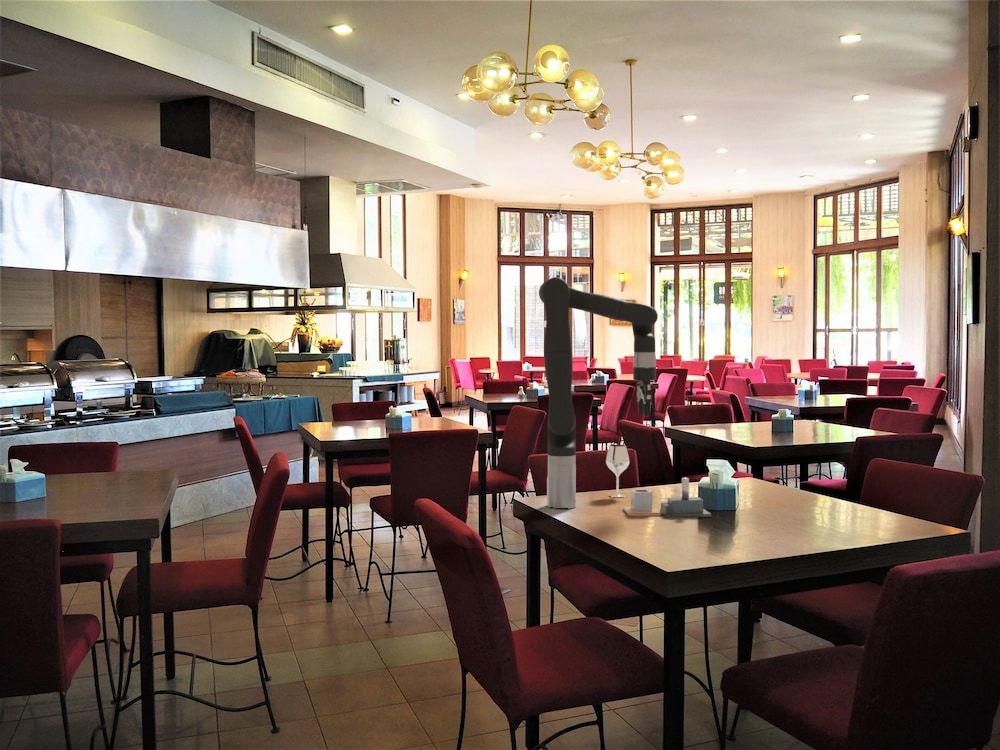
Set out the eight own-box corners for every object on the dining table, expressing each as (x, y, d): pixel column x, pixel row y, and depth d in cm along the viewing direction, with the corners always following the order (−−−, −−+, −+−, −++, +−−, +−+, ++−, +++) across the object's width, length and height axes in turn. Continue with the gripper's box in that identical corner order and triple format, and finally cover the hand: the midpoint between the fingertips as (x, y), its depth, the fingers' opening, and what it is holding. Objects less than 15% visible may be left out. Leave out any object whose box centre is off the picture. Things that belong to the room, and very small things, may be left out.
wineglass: (630, 498, 296) (630, 446, 295) (607, 498, 296) (607, 446, 296) (627, 494, 304) (627, 444, 304) (604, 494, 304) (604, 444, 304)
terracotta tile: (628, 516, 265) (629, 512, 265) (622, 509, 275) (622, 506, 275) (660, 515, 266) (660, 512, 266) (653, 509, 276) (653, 506, 276)
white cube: (634, 511, 267) (634, 492, 267) (630, 508, 273) (631, 489, 273) (652, 511, 268) (652, 492, 268) (648, 507, 273) (648, 489, 273)
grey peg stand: (666, 517, 263) (666, 480, 262) (660, 512, 271) (660, 476, 270) (711, 516, 263) (711, 479, 263) (703, 511, 271) (703, 476, 271)
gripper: (629, 365, 290) (629, 413, 290) (637, 366, 276) (637, 416, 276) (650, 365, 290) (650, 412, 291) (660, 366, 276) (660, 416, 277)
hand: (644, 414), depth 283 cm, fingers open, 8 cm apart
